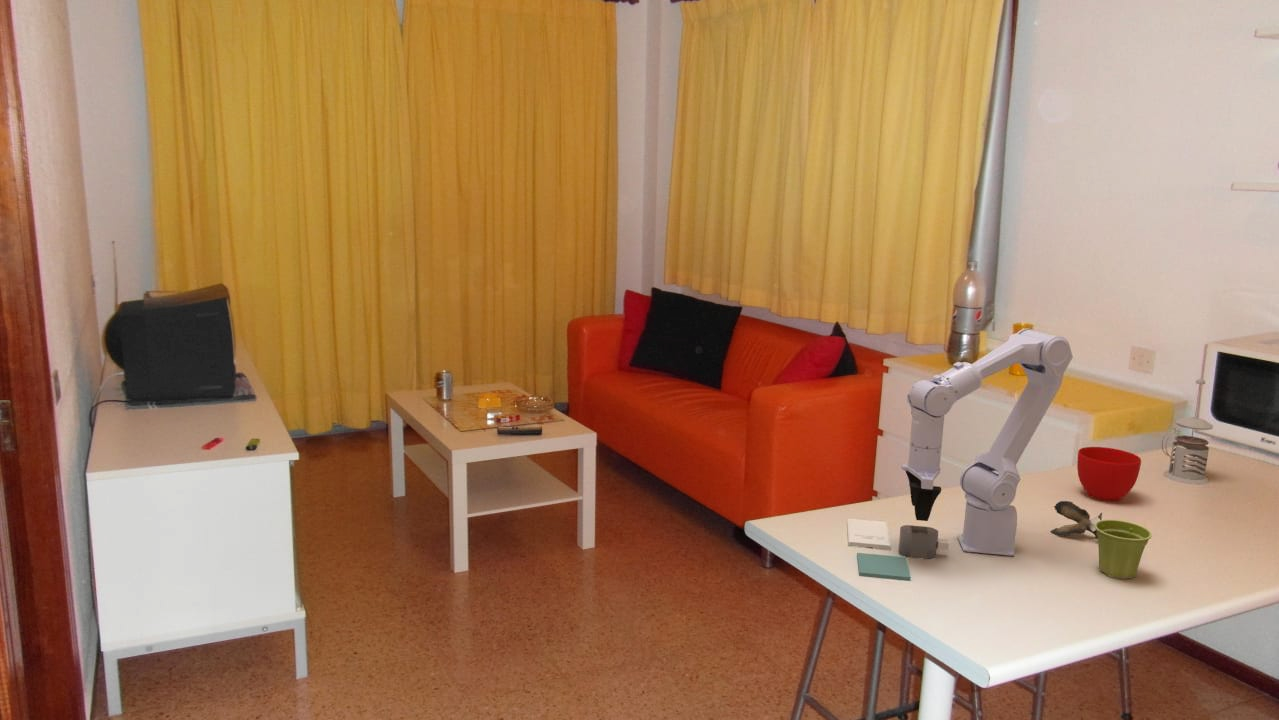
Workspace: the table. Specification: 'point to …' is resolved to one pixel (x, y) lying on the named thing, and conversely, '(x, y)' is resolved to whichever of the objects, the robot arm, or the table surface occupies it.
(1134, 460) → the red bowl
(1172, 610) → the table surface
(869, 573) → the mat
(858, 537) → the external hard drive
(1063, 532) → the eagle figurine
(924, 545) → the plug
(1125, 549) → the plant pot
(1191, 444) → the french press
